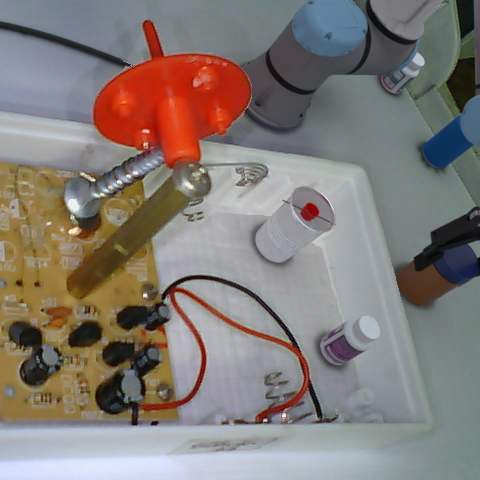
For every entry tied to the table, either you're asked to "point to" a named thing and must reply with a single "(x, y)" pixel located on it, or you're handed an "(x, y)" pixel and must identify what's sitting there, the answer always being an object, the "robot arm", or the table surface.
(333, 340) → the pill bottle
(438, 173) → the table surface
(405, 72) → the pill bottle
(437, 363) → the table surface
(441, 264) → the lid
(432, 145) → the beverage can
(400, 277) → the jar
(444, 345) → the table surface
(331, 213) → the striped cup with float
